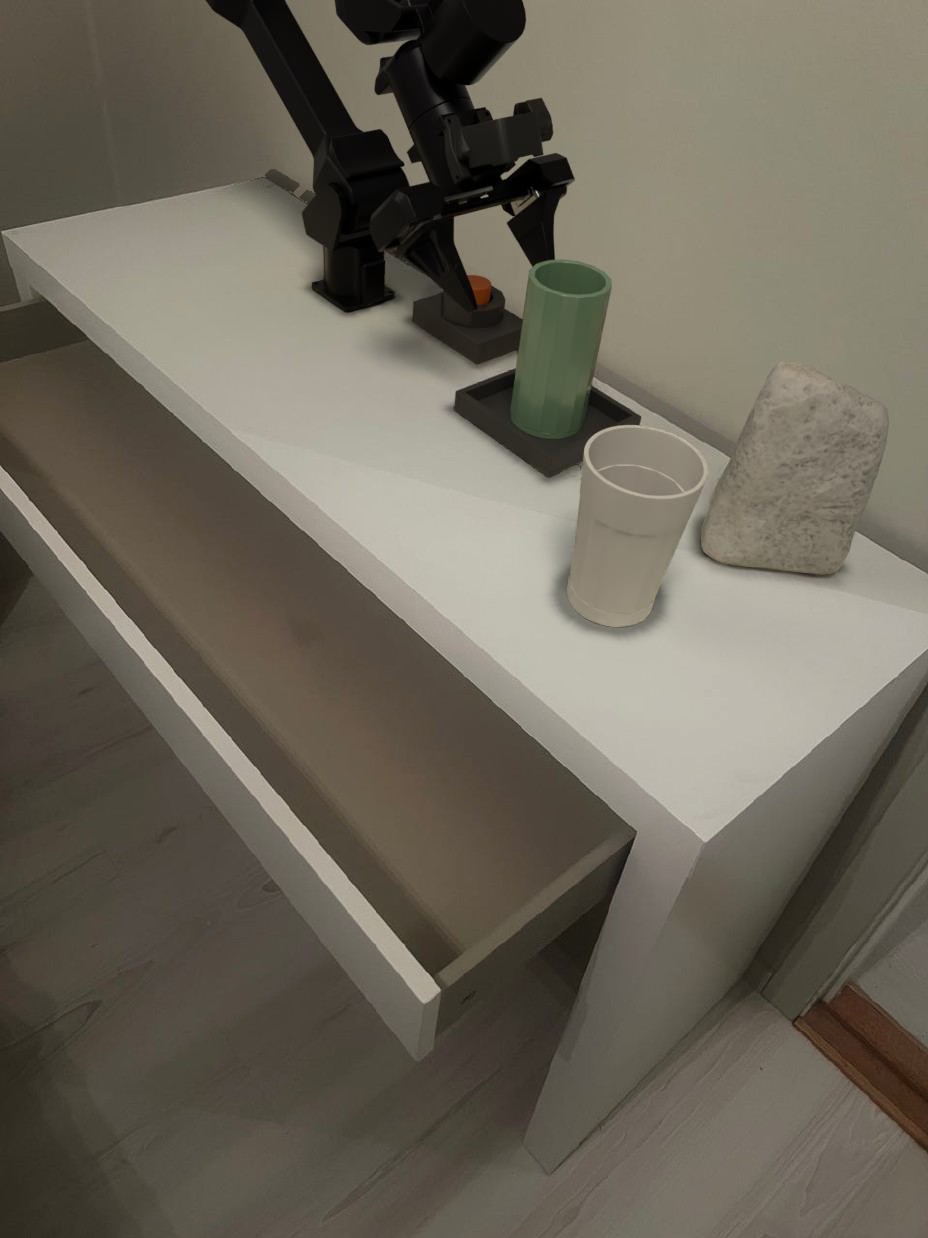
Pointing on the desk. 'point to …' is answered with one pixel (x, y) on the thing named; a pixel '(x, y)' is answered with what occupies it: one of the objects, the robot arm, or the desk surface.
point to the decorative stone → (797, 474)
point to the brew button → (480, 288)
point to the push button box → (470, 325)
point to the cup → (630, 519)
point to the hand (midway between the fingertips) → (513, 297)
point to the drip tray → (549, 456)
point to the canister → (558, 347)
